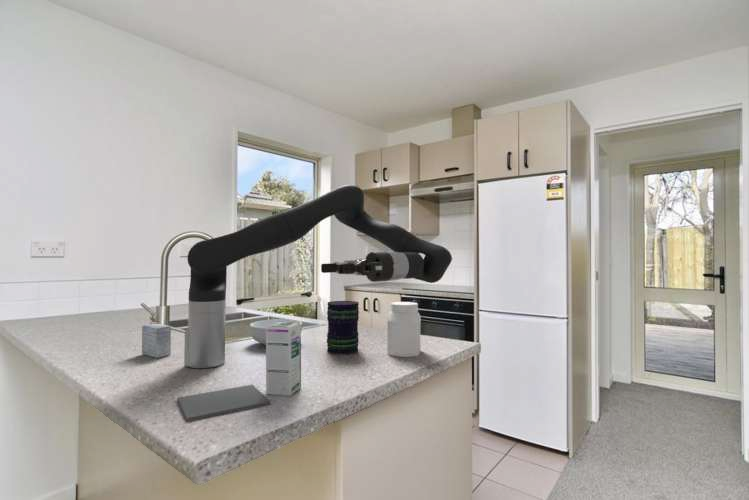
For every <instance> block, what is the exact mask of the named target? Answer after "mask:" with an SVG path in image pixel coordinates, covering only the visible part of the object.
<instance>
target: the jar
mask: <svg viewBox="0 0 749 500" xmlns="http://www.w3.org/2000/svg"><path fill="white" fill-rule="evenodd" d="M421 322H422V319H421V314H420V313H419V303H417V302H413V301H395V302H391V303H390V312H389V313H388V316H387V322H386V323H387V346H386V347H387V348H386V354H387V355H389V356H393V357H399V358H400V357H401V358H411V357H412V358H413V357H419V356H420V352H421V351H422V349H421Z"/></svg>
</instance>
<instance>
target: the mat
mask: <svg viewBox="0 0 749 500" xmlns="http://www.w3.org/2000/svg"><path fill="white" fill-rule="evenodd" d="M177 403H178V404H179V407H180V409H181V412H182V414H183V416H184V419H185V421H186V422H190V421H195V420H201V419H205V418H211V417H216V416H219V415H225V414H231V413H235V412H239V411H244V410H249V409H254V408H259V407H263V406H269V405H271V400H270V399H269V398H268V397H266V396H265V395H264V394H263V393H262V392H261V391H260V390H259V389H258V388H257V387H256V386H255V385H253V384H248V385H242V386H237V387H236V386H235V387H231V388H224V389H220V390H213V391H206V392H201V393H196V394H195V393H194V394H191V395H185V396H179V397H177Z"/></svg>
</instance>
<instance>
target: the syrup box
mask: <svg viewBox="0 0 749 500" xmlns="http://www.w3.org/2000/svg"><path fill="white" fill-rule="evenodd" d="M301 334H302V331H301V324H300V323H296V322H278V323H276V324H274V325H271V326H267V327H266V346H265V369H266V370H265V372H266V373H265V382H266V383H265V384H266V385H265V386H266V387H265V392H266V394H267V395H272V396H284V397H291V396H292V395H293V394H294V393H295V392H297V391H298V390H299V389H301V387H302V336H301Z"/></svg>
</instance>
